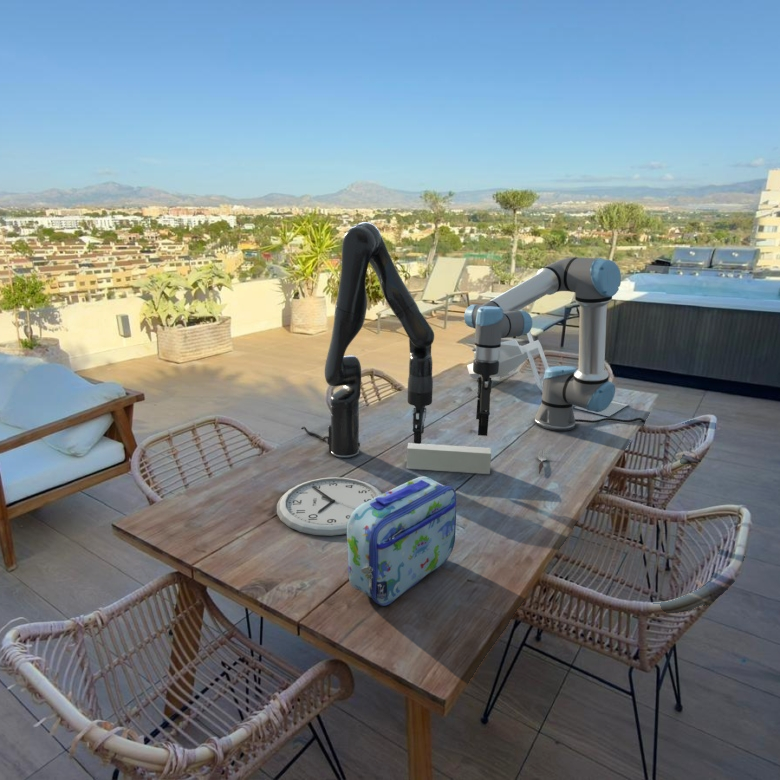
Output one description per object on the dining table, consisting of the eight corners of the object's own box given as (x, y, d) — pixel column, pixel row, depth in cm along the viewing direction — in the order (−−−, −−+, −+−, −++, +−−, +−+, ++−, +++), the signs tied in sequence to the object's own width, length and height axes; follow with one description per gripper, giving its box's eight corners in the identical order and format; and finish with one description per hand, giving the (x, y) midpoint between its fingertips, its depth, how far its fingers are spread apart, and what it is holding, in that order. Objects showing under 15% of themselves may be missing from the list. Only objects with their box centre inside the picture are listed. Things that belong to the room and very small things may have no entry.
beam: (488, 468, 167) (490, 447, 165) (489, 474, 162) (491, 453, 160) (407, 462, 170) (408, 442, 167) (406, 468, 165) (407, 448, 163)
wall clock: (392, 527, 129) (268, 531, 127) (391, 533, 130) (269, 537, 127) (383, 473, 158) (282, 475, 155) (383, 478, 158) (282, 480, 156)
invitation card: (608, 416, 214) (573, 407, 224) (608, 416, 214) (573, 408, 224) (628, 404, 229) (594, 396, 238) (628, 405, 229) (594, 397, 238)
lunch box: (376, 619, 101) (377, 524, 95) (340, 592, 109) (339, 502, 102) (459, 562, 119) (465, 479, 113) (424, 542, 126) (427, 463, 120)
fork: (534, 474, 163) (535, 468, 162) (539, 454, 177) (539, 449, 176) (543, 475, 162) (544, 469, 161) (547, 455, 176) (547, 450, 175)
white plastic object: (488, 421, 262) (468, 398, 237) (469, 348, 284) (449, 320, 260) (560, 397, 250) (547, 371, 225) (534, 322, 272) (520, 291, 247)
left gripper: (410, 381, 166) (409, 429, 170) (405, 394, 152) (404, 446, 157) (434, 382, 165) (432, 430, 169) (430, 395, 151) (429, 447, 156)
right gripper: (472, 349, 166) (468, 412, 173) (475, 370, 143) (470, 441, 149) (496, 350, 166) (491, 413, 172) (502, 371, 142) (496, 443, 148)
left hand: (418, 438), depth 163 cm, fingers open, 8 cm apart
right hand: (481, 426), depth 161 cm, fingers open, 13 cm apart
